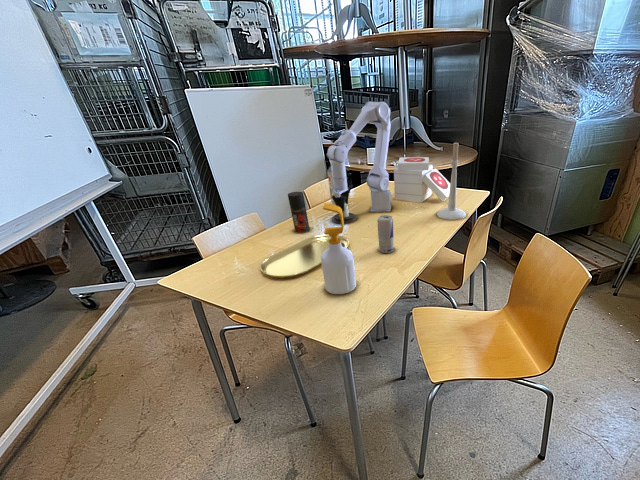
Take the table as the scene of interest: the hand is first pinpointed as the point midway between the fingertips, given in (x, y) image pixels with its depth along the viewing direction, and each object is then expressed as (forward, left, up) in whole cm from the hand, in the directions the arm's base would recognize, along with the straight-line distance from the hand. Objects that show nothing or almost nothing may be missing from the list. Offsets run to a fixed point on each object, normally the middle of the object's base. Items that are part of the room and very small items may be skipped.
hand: (343, 209), depth 146 cm
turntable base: (0, 0, -5) cm, 4 cm away
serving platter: (+5, +38, -5) cm, 39 cm away
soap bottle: (-11, +58, -5) cm, 59 cm away
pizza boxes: (-35, -33, -5) cm, 48 cm away
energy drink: (-22, +32, -5) cm, 39 cm away
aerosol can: (+7, -20, -5) cm, 22 cm away
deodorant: (+15, +13, -5) cm, 20 cm away
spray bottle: (0, 0, -3) cm, 3 cm away
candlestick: (-48, -6, -5) cm, 48 cm away
